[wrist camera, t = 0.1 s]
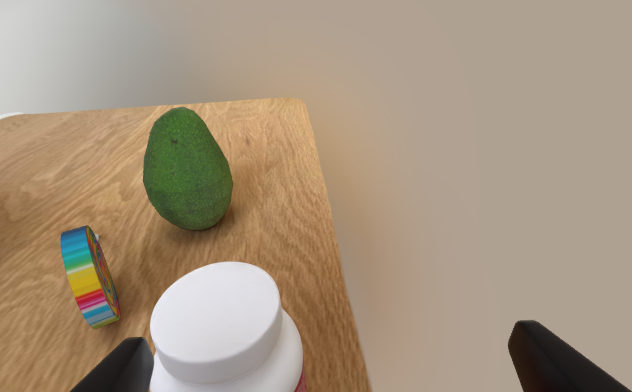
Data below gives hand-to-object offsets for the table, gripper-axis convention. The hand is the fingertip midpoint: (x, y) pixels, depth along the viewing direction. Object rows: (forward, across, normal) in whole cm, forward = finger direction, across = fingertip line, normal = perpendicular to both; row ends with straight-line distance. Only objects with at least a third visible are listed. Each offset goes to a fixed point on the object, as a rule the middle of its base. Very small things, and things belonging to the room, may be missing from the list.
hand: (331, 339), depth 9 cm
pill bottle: (+4, +4, +14) cm, 15 cm away
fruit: (+25, +12, +14) cm, 31 cm away
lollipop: (+17, +18, +14) cm, 28 cm away
